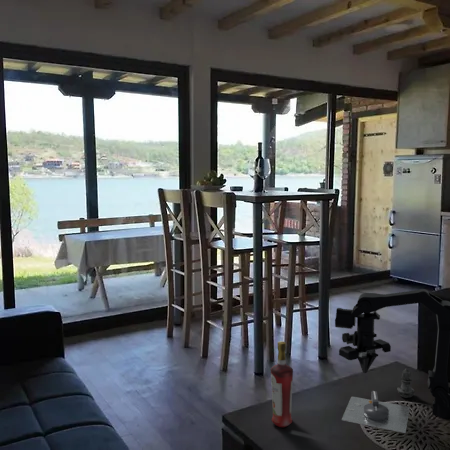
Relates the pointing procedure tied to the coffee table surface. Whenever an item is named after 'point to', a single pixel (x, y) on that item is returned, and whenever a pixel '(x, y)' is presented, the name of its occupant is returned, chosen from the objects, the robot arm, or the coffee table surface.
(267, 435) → the coffee table surface
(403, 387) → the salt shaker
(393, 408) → the panel
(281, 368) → the liquor
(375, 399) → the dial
